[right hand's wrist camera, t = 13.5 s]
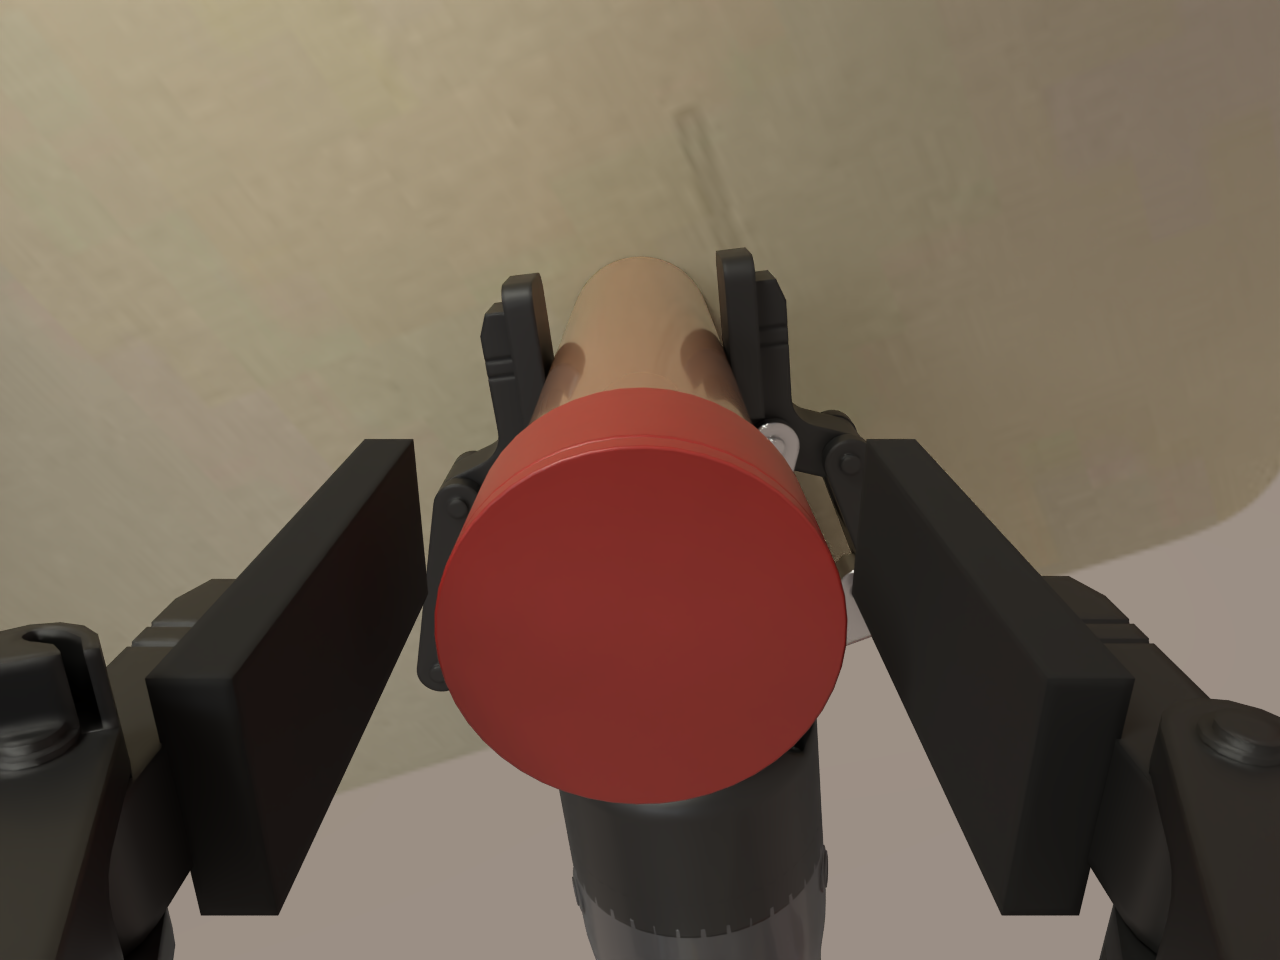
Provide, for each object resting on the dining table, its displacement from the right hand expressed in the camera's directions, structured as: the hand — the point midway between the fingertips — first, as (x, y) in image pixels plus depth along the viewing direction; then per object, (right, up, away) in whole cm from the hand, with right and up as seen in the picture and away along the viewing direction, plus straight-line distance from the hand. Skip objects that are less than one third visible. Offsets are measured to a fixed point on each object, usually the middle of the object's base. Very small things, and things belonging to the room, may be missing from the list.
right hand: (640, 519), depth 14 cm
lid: (0, -1, -3) cm, 4 cm away
